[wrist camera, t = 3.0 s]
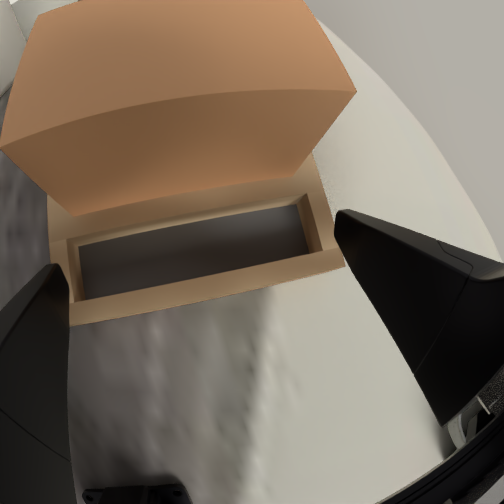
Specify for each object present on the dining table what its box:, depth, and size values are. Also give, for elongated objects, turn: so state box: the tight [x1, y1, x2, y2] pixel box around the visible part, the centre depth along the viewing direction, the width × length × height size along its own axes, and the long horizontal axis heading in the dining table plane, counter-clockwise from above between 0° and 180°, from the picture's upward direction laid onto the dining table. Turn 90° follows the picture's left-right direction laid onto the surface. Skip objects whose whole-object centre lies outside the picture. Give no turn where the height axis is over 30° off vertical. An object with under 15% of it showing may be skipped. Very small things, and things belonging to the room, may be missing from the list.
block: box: [0, 0, 357, 217], centre depth 11 cm, size 7×11×7 cm, turn 104°
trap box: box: [47, 0, 345, 326], centre depth 16 cm, size 28×14×2 cm, turn 14°
